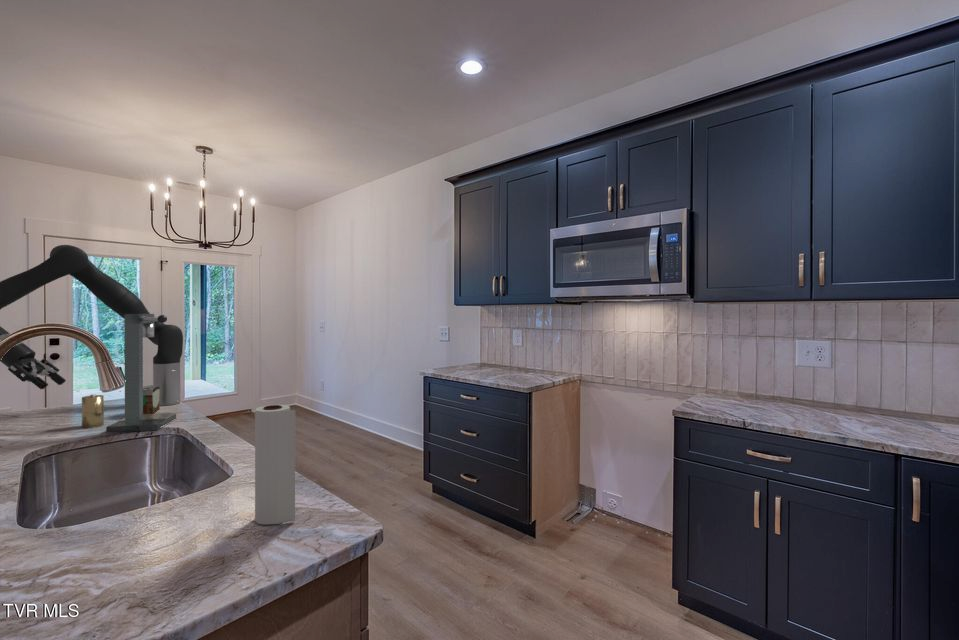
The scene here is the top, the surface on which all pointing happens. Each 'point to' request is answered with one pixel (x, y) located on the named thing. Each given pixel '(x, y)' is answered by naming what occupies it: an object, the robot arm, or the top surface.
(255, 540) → the top surface
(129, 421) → the press
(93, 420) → the cylinder
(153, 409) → the food container
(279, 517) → the paper towel roll
